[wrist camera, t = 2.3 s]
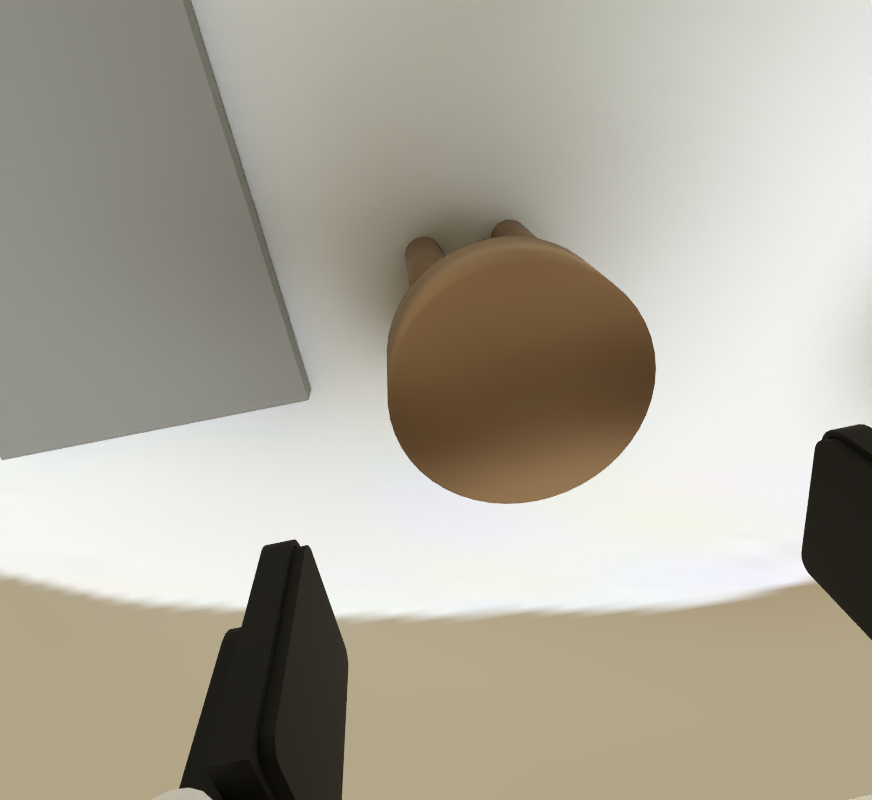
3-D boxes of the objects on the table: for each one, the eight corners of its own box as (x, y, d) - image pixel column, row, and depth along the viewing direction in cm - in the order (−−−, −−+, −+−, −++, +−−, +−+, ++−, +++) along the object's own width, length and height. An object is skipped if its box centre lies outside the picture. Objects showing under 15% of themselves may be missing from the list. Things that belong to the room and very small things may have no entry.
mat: (-353, -161, 16) (-395, -176, 15) (110, -257, 16) (94, -278, 15) (15, 447, 25) (2, 460, 24) (311, 389, 25) (308, 400, 24)
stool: (368, 217, 22) (358, 291, 14) (550, 181, 22) (655, 232, 14) (404, 381, 25) (416, 524, 17) (564, 350, 25) (655, 477, 17)
